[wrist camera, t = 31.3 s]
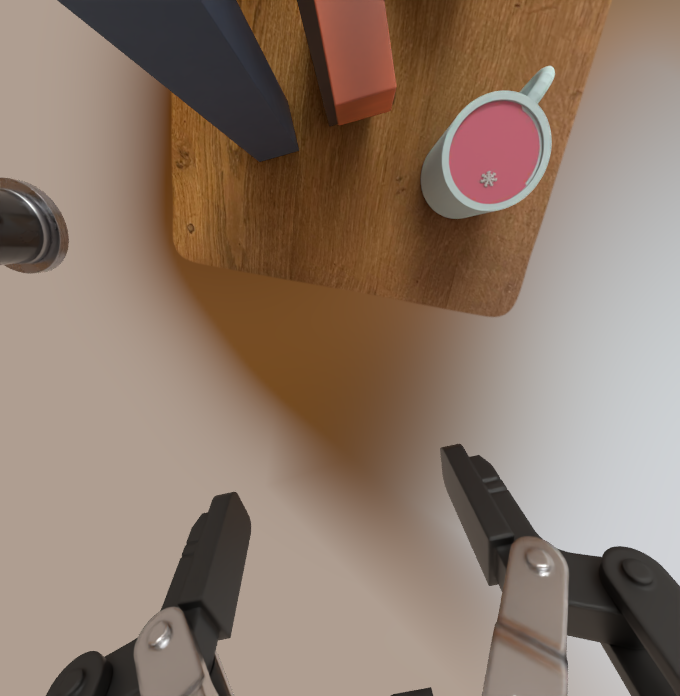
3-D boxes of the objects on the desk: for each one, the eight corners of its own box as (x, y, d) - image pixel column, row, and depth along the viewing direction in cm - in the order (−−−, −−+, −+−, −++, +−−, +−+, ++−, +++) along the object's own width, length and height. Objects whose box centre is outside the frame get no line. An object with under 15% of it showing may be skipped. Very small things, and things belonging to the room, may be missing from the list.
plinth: (329, 126, 36) (296, 0, 17) (307, 18, 33) (238, -278, 14) (372, 114, 36) (387, -31, 17) (353, 2, 33) (346, -329, 14)
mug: (464, 234, 39) (498, 232, 30) (404, 188, 38) (420, 169, 28) (548, 125, 35) (619, 82, 26) (485, 69, 34) (534, 2, 24)
